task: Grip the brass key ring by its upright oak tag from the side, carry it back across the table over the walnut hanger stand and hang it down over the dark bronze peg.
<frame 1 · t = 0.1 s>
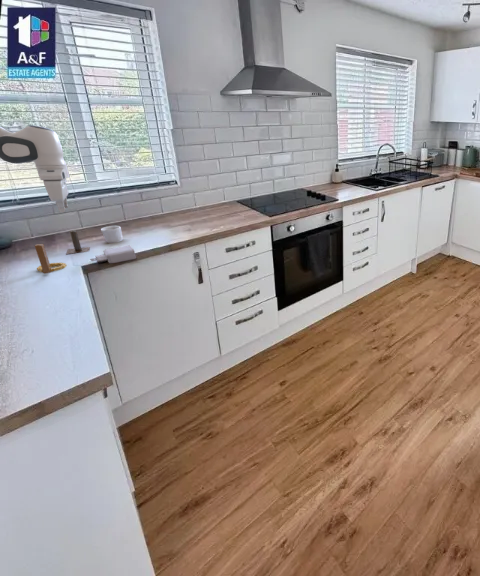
hand: (64, 209, 143), 22 cm above the countertop, tool pointing down, fingers open, 8 cm apart
hanger stand: (79, 252, 165), on the countertop
cup: (114, 243, 180), on the countertop
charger: (114, 261, 156), on the countertop
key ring: (52, 268, 145), on the countertop
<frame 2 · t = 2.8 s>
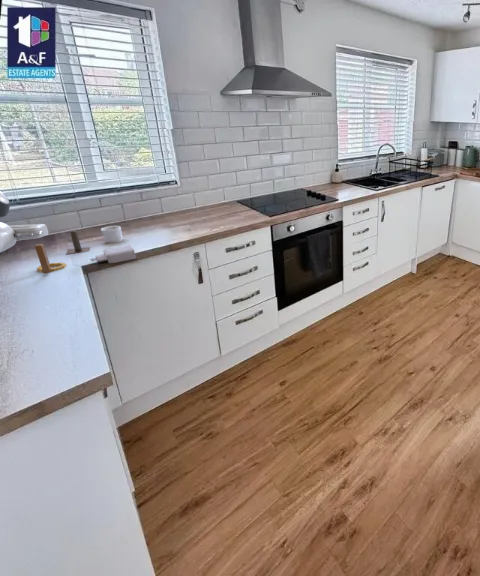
hand: (16, 227, 124), 20 cm above the countertop, tool horizontal, fingers open, 8 cm apart
nothing on the countertop moved.
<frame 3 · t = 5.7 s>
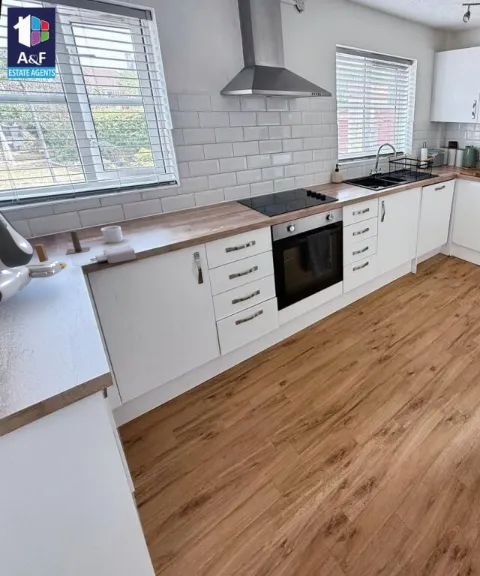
hand: (31, 263, 131), 7 cm above the countertop, tool horizontal, fingers open, 8 cm apart
nothing on the countertop moved.
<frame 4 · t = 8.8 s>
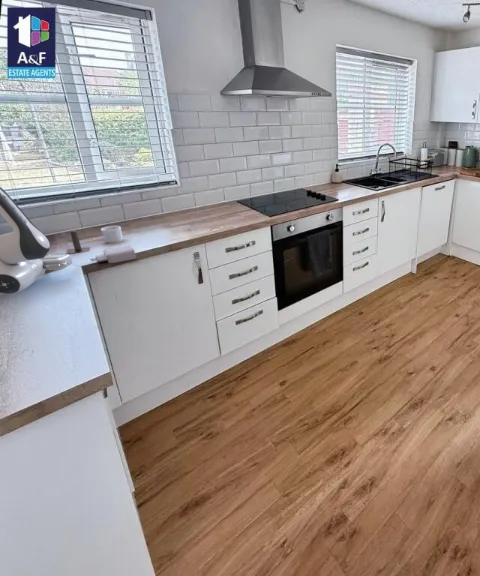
hand: (44, 256, 140), 6 cm above the countertop, tool horizontal, fingers closed on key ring
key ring: (52, 268, 145), on the countertop, touching gripper
everything else where it was.
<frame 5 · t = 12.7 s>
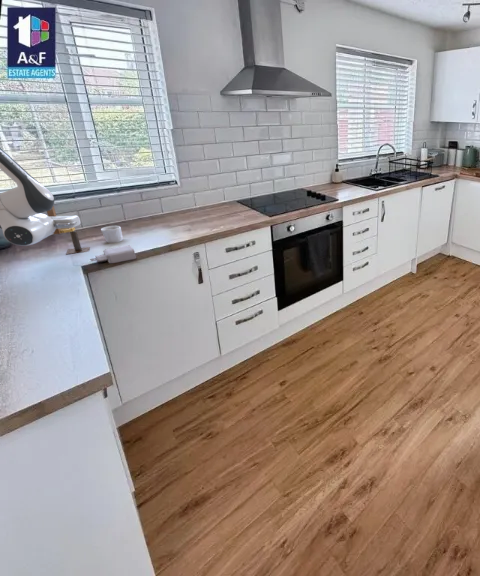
hand: (54, 218, 147), 18 cm above the countertop, tool horizontal, fingers closed on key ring
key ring: (61, 231, 153), point 12 cm above the countertop, touching gripper
everything else where it was.
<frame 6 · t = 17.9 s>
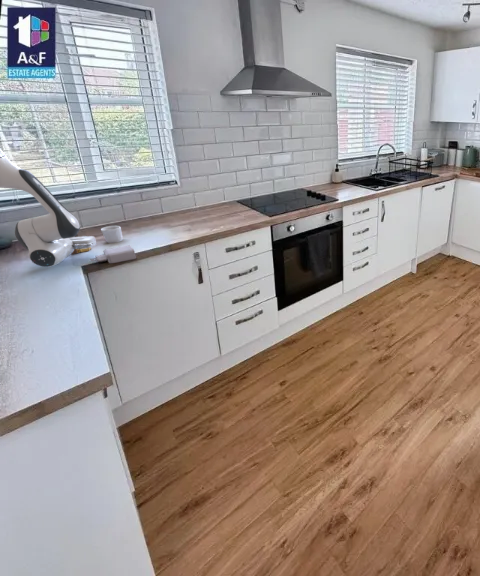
hand: (71, 238, 159), 7 cm above the countertop, tool horizontal, fingers open, 8 cm apart
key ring: (78, 250, 164), point 1 cm above the countertop, touching hanger stand
everything else where it was.
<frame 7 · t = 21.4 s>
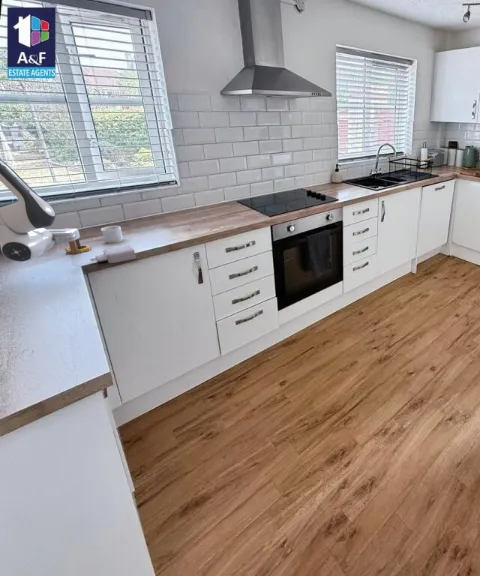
hand: (52, 231, 145), 14 cm above the countertop, tool horizontal, fingers open, 8 cm apart
nothing on the countertop moved.
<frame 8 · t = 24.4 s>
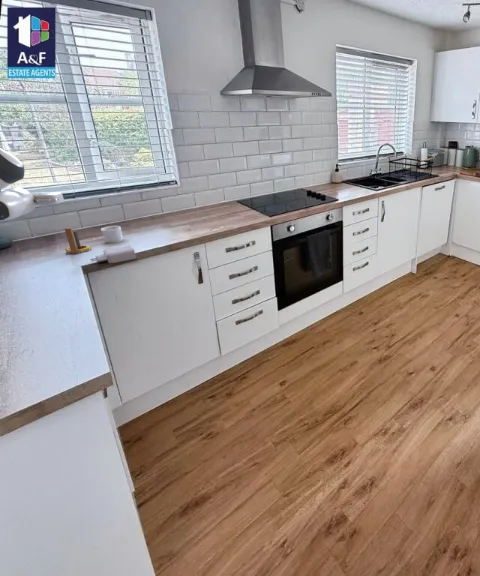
hand: (35, 195, 137), 28 cm above the countertop, tool horizontal, fingers open, 8 cm apart
nothing on the countertop moved.
at the end: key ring 0.2 cm off-centre on the hanger stand, point 1.2 cm above the hanger stand's base; the gripper is holding nothing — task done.
